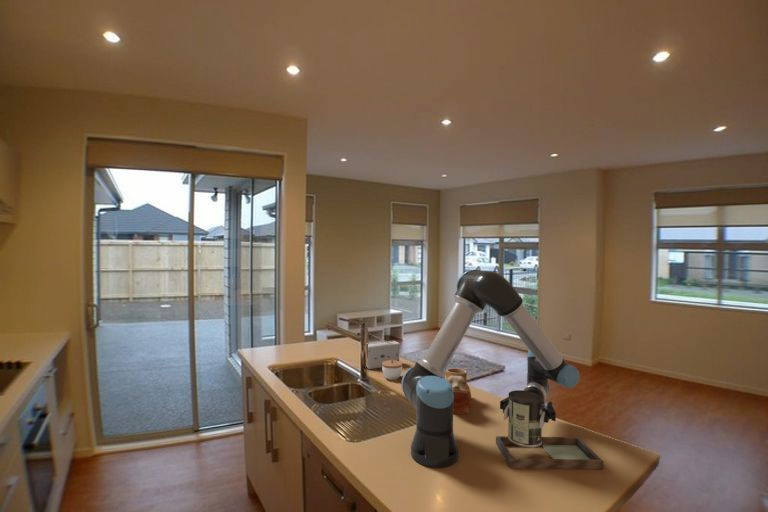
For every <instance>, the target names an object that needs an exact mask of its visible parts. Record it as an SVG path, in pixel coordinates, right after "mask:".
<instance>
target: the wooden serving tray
mask: <svg viewBox="0 0 768 512" xmlns="http://www.w3.org/2000/svg"><path fill="white" fill-rule="evenodd" d="M495 445H496V446H497V448H498V449H499V451H500V453H501V455H502V457H503V459H504V461H506V463H507V465H508V467H509V468H510V469H531V470H533V469H534V470H535V469H538V470H540V469H543V470H545V469H547V470H549V469H550V470H551V469H552V470H604V460H603V459H602V458H601V457H600V456H598V454H597V453H595V452H594V451H593V450H592V449H591V448H590V447H589V446H588V445H587V444H586V443H585V442H584V441H583V440H582V439H581V438H580V437H578V436H574V437H573V436H542V444H541V445H540V446H542V445H576V446H577V447H578V448H579V449H580V450H581V451H582V452H583V453H584V454H585V455H586V456H587V457H588V458H589V459H552V458H513V457H512V455H511V453H510V452H509V450H508V449H507V447H506V446H518V445H517V444H515V443H513V442H511V441H510V440H509V438H508V436H506V435H505V436H504V435H503V436H501V435H500V436H499V435H498V436H497V435H496V436H495Z"/></svg>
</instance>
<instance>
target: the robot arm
mask: <svg viewBox="0 0 768 512" xmlns="http://www.w3.org/2000/svg"><path fill="white" fill-rule="evenodd" d="M453 298H454V301H455V302H454V303H453V305H452V307H451V310H450V311H449V313H448V315H447V317H446V318H445V320H444V321H443V323H442V325H441V327H440V329H439V330H438V333H437V334H436V336H435V337H434V340H433V341H432V343H431V345H430V346H429V348H428V349H427V352H426V353H425V355H424V357H423V358H422V359H418V360H417V361H416V362H415V364H414V365H413V366H412V367H409V369H407V370H406V371H405V372H404V374H403V375H402V379H401V389H402V392H403V395H404V396H405V398H406V399H407V400H408V401H409V402H410V404H411V405H412V406H413V407H414V408H415V411H416V428H415V432H414V435H413V437H412V440H411V444H410V456H411V457H412V459H413V460H414V461H415V462H417V463H419V464H421V465H423V466H426V467H430V468H445V467H450V466H452V465H454V464H455V463H456V462H457V461H458V459H459V447H458V444H457V440H456V438H455V434H454V414H453V400H454V394H453V387H452V385H451V383H450V382H449V381H448V380H446V373H445V372H446V370H447V367H448V366H449V364H450V362H451V360H452V358H453V356H454V354H455V353H456V351H457V349H458V347H459V345H460V344H461V342H462V340H463V339H464V337H465V335H466V333H467V331H468V329H469V327H470V326H471V324H472V322H473V320H474V318H475V317H476V315H477V314H479V313H483V311H484V310H485V308H486V306H489V307H490V308H491V309H493V310H494V311H495V313H496V314H497V315H498V316H499V317H503V318H504V319H505V320H506V322H507V323H508V324H509V325H510V327H511V328H512V329H513V331H514V333H516V335H517V336H518V337H519V339H521V341H522V343H523V344H524V345H525V346H526V347H527V348H528V350H527V365H526V366H527V373H526V374H527V375H526V385H525V387H524V389H523V391H530V392H533V393H536V394H538V395H540V396H541V397H542V398H543V401H542V415H541V418H540V428H542V429H543V428H544V425H545V423H546V424H547V423H549V421H550V420H551V421H553V422H556V421H557V420H556V418H557V417H556V416H557V413H556V410H555V409H554V407H553V401H548V402H545V400H546V399H547V395H548V393H549V391H550V384H549V380H550V381H551V382H554V383H556V384H557V385H559V386H562V387H565V388H567V389H568V388H569V389H570V388H573V387H575V386H576V385H577V384H578V383H579V380H580V378H581V377H580V371H579V370H578V368H576V367H574V366H573V365H572V364H568V362H567V361H566V360H565V359H564V358H563V356H562V355H561V353H560V352H559V351H558V350H557V348H556V347H555V345H554V344H553V343H552V341H551V340H550V338H549V337H548V336H547V335H546V333H545V332H544V331H543V329H542V328H541V327H540V326H539V324H538V323H537V322H536V320H535V319H534V317H533V316H532V315H531V313H530V312H529V311H528V310H527V308H526V307H525V305H524V304H523V303H524V299H523V297H522V296H521V295H520V294H519V292H518V291H517V290H516V288H515V287H514V286H513V285H512V284H511V282H509V281H508V280H507V279H506V278H505V277H504V276H503V275H501V274H500V273H499V272H496V271H491V270H489V271H488V270H481V269H471V270H466V271H464V272H462V274H460V276H459V277H458V279H457V281H456V292H455V294H454V295H453ZM499 409H500V410H502V413H503V420H505V421H507V419H509V396H507V397H505V398H503V399H502V400H500V402H499Z"/></svg>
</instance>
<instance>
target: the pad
mask: <svg viewBox="0 0 768 512" xmlns="http://www.w3.org/2000/svg"><path fill="white" fill-rule="evenodd" d="M541 447H542V448H543V449H544V450H545V452H547V454H548V455H549V456H550V459H589V458H588V457H587V456H586V455H585V454H584V453H583V452H582V451H581V450H580V449H579V448H578V447H577V446H576V445H541Z"/></svg>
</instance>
